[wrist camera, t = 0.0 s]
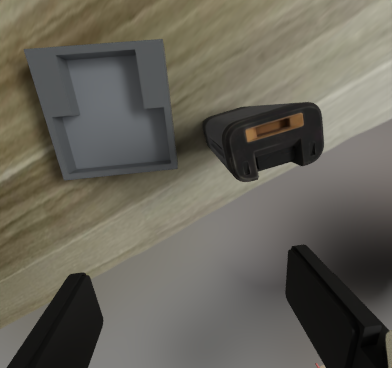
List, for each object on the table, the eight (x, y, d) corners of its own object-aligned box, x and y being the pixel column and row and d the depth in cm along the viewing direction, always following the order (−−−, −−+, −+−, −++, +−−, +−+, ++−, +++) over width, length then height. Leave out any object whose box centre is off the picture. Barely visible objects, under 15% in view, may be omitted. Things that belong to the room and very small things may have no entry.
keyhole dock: (41, 56, 33) (23, 49, 29) (164, 47, 33) (162, 39, 30) (75, 173, 39) (64, 180, 35) (177, 163, 40) (177, 168, 36)
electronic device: (208, 151, 40) (235, 187, 21) (200, 119, 38) (221, 127, 19) (256, 137, 39) (327, 160, 20) (250, 104, 37) (323, 96, 18)
